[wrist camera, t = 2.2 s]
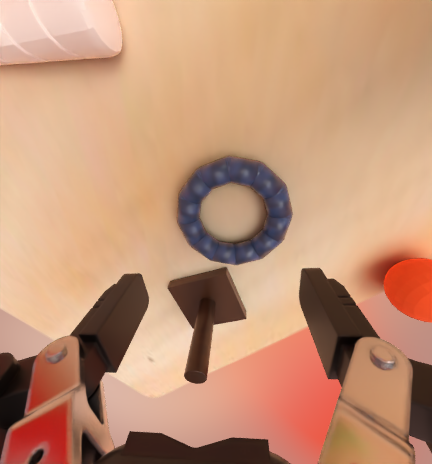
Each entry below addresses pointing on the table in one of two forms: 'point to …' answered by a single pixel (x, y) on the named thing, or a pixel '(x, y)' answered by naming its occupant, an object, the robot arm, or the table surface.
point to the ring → (240, 174)
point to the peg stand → (205, 313)
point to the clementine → (411, 288)
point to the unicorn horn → (58, 30)
